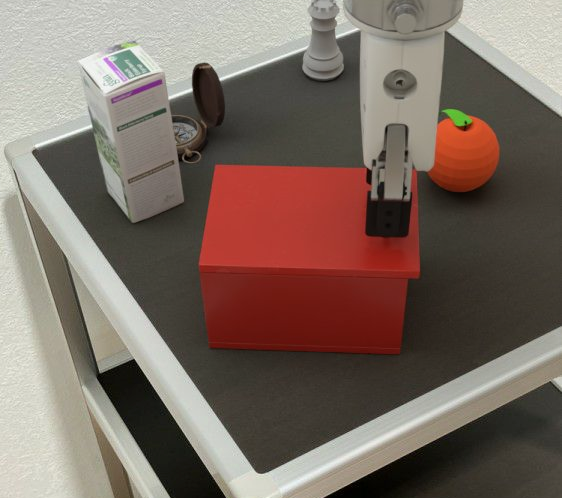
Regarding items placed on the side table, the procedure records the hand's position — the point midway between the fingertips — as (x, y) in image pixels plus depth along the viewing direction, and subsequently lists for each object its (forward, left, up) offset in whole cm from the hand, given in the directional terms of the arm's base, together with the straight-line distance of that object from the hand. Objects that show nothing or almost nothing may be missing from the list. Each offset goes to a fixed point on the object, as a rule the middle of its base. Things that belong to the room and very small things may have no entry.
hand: (386, 206), depth 74 cm
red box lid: (+6, 0, -2) cm, 6 cm away
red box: (+6, 0, -11) cm, 12 cm away
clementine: (-7, -16, -11) cm, 21 cm away
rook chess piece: (+6, -34, -11) cm, 36 cm away
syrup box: (+22, -13, -11) cm, 28 cm away
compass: (+19, -21, -11) cm, 30 cm away
